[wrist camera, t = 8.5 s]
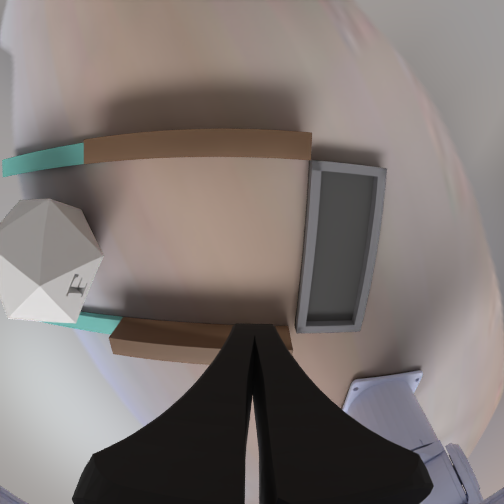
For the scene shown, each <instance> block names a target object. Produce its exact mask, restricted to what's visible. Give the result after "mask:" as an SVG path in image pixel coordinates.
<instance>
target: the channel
mask: <svg viewBox="0 0 504 504" xmlns="http://www.w3.org/2000/svg"><path fill="white" fill-rule="evenodd" d="M311 146H312V133H310V132H298V131H284V130H265V129H184V130H165V131H151V132H140V133H130V134H120V135H112V136H105V137H97V138H91V139H84V164H90V163H99V162H109V161H121V160H134V159H149V158H170V157H262V158H283V159H299V160H311ZM232 326H234V325H225V324H204V323H188V322H174V321H161V320H150V319H139V318H129V317H123V318H122V319H121V321H120V322H119V324H118V325H117V327H116V328H115V329H114V331H113V332H112V334H111V335H110V337H109V340H110V344H111V348H112V351H113V354H117V355H124V356H130V357H137V358H145V359H153V360H161V361H171V362H181V363H193V364H207V365H210V364H211V363H212V362H213V360H214V359H215V357H216V356H217V354H218V353H219V351H220V350H221V348H222V347H223V345H224V343H225V341H226V340H227V338H228V336H229V334H230V332H231V329H232ZM275 327H276V329H277V332H278V334H279V335H280V337H281V339H282V341H283V342H284V344H285V346H286V347H287V349H288V350H289V352H290V353H291V355H292V353H293V348H292V343H291V338H290V333H289V328H288V326H275Z"/></svg>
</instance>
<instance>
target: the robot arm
mask: <svg viewBox="0 0 504 504" xmlns="http://www.w3.org/2000/svg"><path fill="white" fill-rule="evenodd" d="M422 376H423V372H422V371H421V370H419V371H413V372H408V373H401V374H395V375H388V376H381V377H373V378H364V379H356V380H354V381H353V382H352V383H351V386H350V388H349V391H348V394H347V397H346V400H345V403H344V405H343V408H342V409H340V408H339V407H338V406H337V405H336V404H335V403H334V402H332V401H331V400H330V399H329V398H328V397H327V396H326V395H325V394H324V393H323V392H322V391H321V390H320V389H319V388H318V387H317V386H316V385H315V384H314V383H313V382H312V380H311V379H310V378H309V377H308V376H307V375H306V373H305V372H304V371H303V370H302V368H301V367H300V366H299V365H298V363H297V362H296V360H295V359H294V358H293V356H292V355H291V353H290V352H289V350H288V349H287V347H286V346H285V344H284V342H283V341H282V339H281V337H280V335H279V334H278V332H277V329H276V327H275V326H274V325H273V324H235V325H234V326H232V329H231V332H230V334H229V336H228V338H227V340H226V341H225V343H224V345H223V347H222V348H221V350H220V351H219V353H218V354H217V356H216V357H215V359H214V360H213V362H212V363H211V364H210V366H209V367H208V368H207V369H206V371H205V372H204V373H203V374H202V376H201V377H200V378H199V379H198V380H197V382H196V383H195V384H194V385H193V386H192V387H191V388H190V389H189V390H188V391H187V392H186V393H185V394H184V395H183V396H182V397H181V398H180V399H179V400H178V401H177V402H175V403H174V404H173V405H172V406H171V407H170V408H169V409H167V410H166V411H165V412H164V413H163V414H161V415H160V416H159V417H157V418H156V419H155V420H153V421H152V422H150V423H149V424H147V425H146V426H144V427H143V428H141V429H140V430H138V431H137V432H135V433H134V434H132V435H130V436H129V437H127V438H125V439H124V440H121V441H120V442H117V443H115V444H113V445H112V446H110V447H108V448H105V449H104V450H101V451H99V452H97V453H94V454H93V455H92V457H91V459H90V461H89V462H88V464H87V465H86V467H85V468H84V471H83V472H82V474H81V477H80V479H79V482H78V485H77V487H76V490H75V492H74V495H73V497H72V501H73V503H74V504H245V456H246V444H247V436H248V428H249V420H250V412H251V403H252V395H253V402H254V412H255V420H256V429H257V438H258V447H259V504H504V487H503V488H502V489H500V490H499V491H497V492H496V493H494V494H493V495H491V496H490V497H488V498H487V499H485V500H483V498H482V495H481V493H480V487H479V484H478V481H477V479H476V477H475V474H474V472H473V470H472V468H471V466H470V464H469V462H468V460H467V458H466V456H465V454H464V453H463V451H462V449H461V447H460V446H459V445H458V444H452V443H450V444H448V445H447V446H445V447H446V449H447V451H448V453H449V457H450V459H451V461H452V463H453V466H452V463H451V461H450V459H449V457H448V455H447V453H446V451H445V449H444V447H443V446H442V444H441V442H440V440H438V438H437V436H436V434H435V432H434V430H433V428H432V426H431V424H430V423H429V421H428V419H427V417H426V415H425V413H424V411H423V410H422V408H421V406H420V404H419V402H418V400H417V399H416V397H415V395H414V392H415V390H416V388H417V386H418V384H419V382H420V380H421V378H422ZM462 484H463V487H464V489H465V491H466V494H465V492H464V490H463V487H462ZM0 504H28V503H26V502H24V501H23V500H21V499H20V498H18V497H16V496H15V495H13V494H12V493H10V492H9V491H7V490H6V489H4V488H3V487H2V486H0Z"/></svg>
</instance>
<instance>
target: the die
mask: <svg viewBox="0 0 504 504" xmlns="http://www.w3.org/2000/svg"><path fill="white" fill-rule="evenodd" d="M103 257H104V254H103V253H102V251H101V249H100V247H99V245H98V243H97V241H96V239H95V237H94V235H93V233H92V231H91V229H90V227H89V225H88V223H87V221H86V219H85V216H84V214H83V212H82V210H81V209H79V208H76V207H73V206H70V205H67V204H64V203H61V202H58V201H55V200H53V199H32V200H20V201H19V202H18V203H17V204H16V205H15V206H14V207H13V209H12V210H11V211H10V212H9V213H8V214H7V215H6V217H5V218H4V219H3V220H2V221H1V223H0V298H1V301H2V304H3V307H4V310H5V313H6V316H7V318H9V319H18V320H30V321H43V322H58V323H76V322H77V320H78V317H79V314H80V312H81V309H82V306H83V304H84V301H85V299H86V296H87V294H88V291H89V289H90V286H91V284H92V282H93V279H94V277H95V275H96V272H97V270H98V268H99V266H100V263H101V261H102V259H103Z"/></svg>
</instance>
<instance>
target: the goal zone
mask: <svg viewBox="0 0 504 504" xmlns="http://www.w3.org/2000/svg"><path fill="white" fill-rule="evenodd" d="M80 164H84V143H79V144H73V145H67V146H61V147H56V148H51V149H46V150H41V151H37V152H32V153H28V154H24V155H20V156H16V157H12V158H8V159H4V160H2V166H3V177H7V176H11V175H17V174H22V173H27V172H33V171H38V170H44V169H51V168H57V167H64V166H72V165H80ZM122 318H123V317H120V316H112V315H103V314H96V313H88V312H80V314H79V317H78V320H77V322H76V323H58V322H44V323H49V324H54V325H59V326H64V327H69V328H75V329H80V330H86V331H92V332H98V333H105V334H112V332H113V331H114V329H115V328H116V327H117V325H118V324H119V322H120V321H121V319H122ZM40 322H43V321H40Z"/></svg>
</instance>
